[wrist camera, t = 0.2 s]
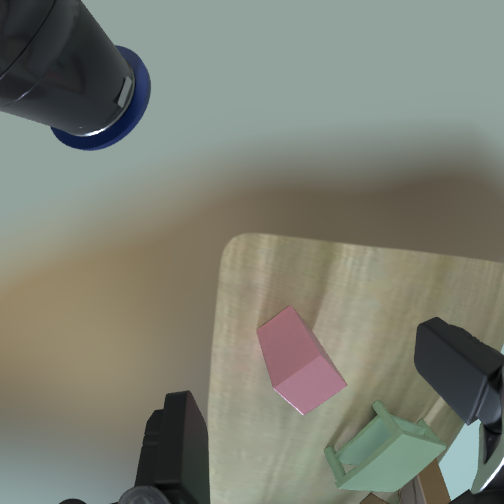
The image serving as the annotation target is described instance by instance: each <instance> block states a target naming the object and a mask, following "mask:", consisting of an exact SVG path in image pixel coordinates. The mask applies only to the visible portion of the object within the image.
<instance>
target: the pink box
mask: <svg viewBox="0 0 504 504" xmlns="http://www.w3.org/2000/svg"><path fill="white" fill-rule="evenodd" d="M257 334H258V338H259V341H260V345H261V348H262V352H263V355H264V359H265V362H266V365H267V369H268V372H269V376H270V379H271V382H272V386H273V389H274V390H276V391H277V392H278V393H279V394H280V395H281V396H282V397H283V398H284V399H285V400H287V401H288V402H289V403H290V404H291V405H292V406H293V407H295V408H296V409H297V410H298V411H299V412H300V413H301V414H303V415H305V414H306V413H308V412H310V411H311V410H313V409H314V408H316V407H317V406H319V405H320V404H322V403H323V402H325V401H326V400H327V399H329V398H330V397H332V396H333V395H335V394H336V393H337V392H339V391H340V390H342V389H343V388H344V387H346V386H347V383H346V382H345V380H344V379H343V377H342V376H341V374H340V373H339V371H338V370H337V368H336V367H335V365H334V363H333V362H332V360H331V359H330V357H329V356H328V354H327V353H326V351H325V350H324V348H323V347H322V345H321V344H320V342H319V341H318V339H317V337H316V336H315V334H314V333H313V332H312V330H311V329H310V328H309V327H308V325H307V324H306V323H305V322H304V320H303V319H302V318H301V317H300V316H299V314H298V313H297V312H296V311H295V309H294V308H293V307H292V306H291V305H289V306H288V307H287V308H285V309H284V310H283V311H281V312H280V313H279V314H277V315H276V316H275V317H274V318H272V319H271V320H270V321H268V322H267V323H266V324H264V325H263V326H262V327H260V328H259V329H257Z"/></svg>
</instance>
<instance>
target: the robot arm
mask: <svg viewBox="0 0 504 504" xmlns="http://www.w3.org/2000/svg"><path fill="white" fill-rule="evenodd" d="M135 85H136V83H135V75H134V72H133V69H132V68H131V66H130V65H129V63H128V62H127V61H126V60H125V59H124V58H123V57H122V55H121V54H120V52H119V51H118V50H117V48H116V47H115V46H114V44H113V43H112V41H111V40H110V39H109V37H108V36H107V35H106V33H105V32H104V31H103V29H102V28H101V27H100V25H99V24H98V23H97V21H96V20H95V19H94V17H93V16H92V15H91V13H90V12H89V11H88V9H87V8H86V7H85V5H84V4H83V3H82V1H81V0H0V111H2V112H6V113H9V114H12V115H16V116H19V117H22V118H26V119H29V120H32V121H35V122H39V123H42V124H45V125H48V126H51V127H54V128H57V129H60V130H63V131H66V132H67V133H69V134H72V135H75V136H79V137H90V136H94V135H98V134H100V133H102V132H104V131H106V130H108V129H109V128H111V127H112V126H113V125H115V124H116V123H117V122H118V121H119V120H120V119H121V118H122V117H123V115H124V114H125V113H126V111H127V110H128V108H129V106H130V104H131V102H132V99H133V96H134V93H135ZM414 363H415V366H416V369H417V371H418V372H419V374H420V375H421V376H422V377H423V378H424V379H425V380H426V381H427V382H428V383H429V384H430V385H431V386H432V387H433V388H434V389H435V391H436V392H437V393H438V394H439V395H440V396H441V397H442V398H443V399H444V400H445V401H446V402H447V403H448V405H449V406H450V407H451V408H452V409H453V410H454V411H455V412H456V413H457V414H458V415H459V417H460V418H461V419H462V420H463V421H464V422H465V423H466V424H467V425H468V426H469V425H470V424H471V423H473V422H474V421H476V420H477V419H479V420H480V421H481V424H480V427H479V458H478V470H477V474H476V477H475V479H474V482H473V485H472V488H471V491H470V490H469V489H468V490H467V491H465V492H464V493H463V494H461V495H460V496H458V497H457V498H455V499H454V500H452V501H451V502H449V503H447V504H504V358H503V357H501V356H500V355H499V354H497V353H496V352H495V351H493V350H492V349H491V348H489V347H488V346H486V345H485V344H484V343H482V342H480V340H478V339H477V338H476V337H472V335H471V334H470V333H469V332H467V331H466V330H464V329H463V328H460V327H457V326H454V325H451V324H450V325H449V324H447V323H446V322H445V321H443V320H442V319H440V318H439V317H434V318H432V319H430V320H428V321H425V322H423V323H421V324H419V325H418V327H417V333H416V345H415V354H414ZM144 434H145V436H144V438H143V447H142V448H141V454H140V459H139V464H138V470H137V475H136V481H135V486H134V487H133V488H131V489H129V490H127V491H126V492H125V493H124V494H123V495H122V496H121V497H120V499H119V501H118V502H116V503H112V504H210V485H209V451H208V431H207V427H206V423H205V421H204V418H203V416H202V414H201V412H200V410H199V408H198V406H197V404H196V402H195V400H194V397H193V396H192V393H191V392H190V391H189V390H188V391H182V392H175V393H168V394H166V397H165V403H164V409H161V410H155V411H154V413H153V414H152V415H151V417H150V418H149V420H148V421H147V424H146V429H145V433H144ZM59 504H86V503H85V502H83V501H81V500H79V499H67V500H64V501H62V502H61V503H59Z"/></svg>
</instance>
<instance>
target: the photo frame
mask: <svg viewBox="0 0 504 504" xmlns="http://www.w3.org/2000/svg"><path fill="white" fill-rule="evenodd" d="M398 495H399V499H400V504H447V503H449V502H451V499H450V496H449V493H448V490H447V487H446V484H445V482H444V479H443V476H442V473H441V470H440V468H439V465H438V462H437V460H436V458H435V459H434V460H433V461H432V462H431V463H430V464H428V465H427V466H426V467H425V468H424V469H423V470H422V471H421V472H419V473H418V474H417V475H416V476H415V477H413V478H412V479H411V480H410V481H409V482H407V483H406V484H405V485H404V486H402V487H401V488H400V489H399V491H398ZM360 504H389V503H387V502H385V501H384V500H382V499H380V498H379V497H377V496H375V495H373V494H372V493H371V494H370V495H368V496H367V497H366V498H365V499H364V500H363V501H362V502H361V503H360Z"/></svg>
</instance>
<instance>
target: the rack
mask: <svg viewBox="0 0 504 504" xmlns="http://www.w3.org/2000/svg"><path fill="white" fill-rule="evenodd" d="M372 407H373V409H374V410H375V412H376V413H377V414H378V415H377V416H376V417H375V418H374V419H373V420H372V421H371V422H370V423H369V424H368V425H366V426H365V427H364V428H363V429H362V430H361V431H360V432H359V433H358V434H357V435H356V436H355V437H354V438H352V439H351V440H350V441H349V442H348V443H347V444H346V445H345V446H343V447H342V448H341V449H340V450H339V451H338V452H336V451H335V449H334V447H331V446H328V447H327V448H326V449H325V450H324V452H325V455H326V457H327V460H328V462H329V464H330V467H331V469H332V471H333V474H334V476H335V479H336V481H337V482H335V484H336V486H337V488H340V489H349V490H360V491H377V492H396V491H397V490H399V489H400V488H401V487H402V486H404V485H405V484H406V483H407V482H409V481H410V480H411V479H412V478H413V477H415V476H416V475H417V474H418V473H419V472H421V471H422V470H423V469H424V468H425V467H426V466H427V465H428V464H430V463H431V462H432V461H433V460H434V459H435V458H436V457H437V456H438V455H439V454H440V453H441V452H442V451H443V450H444V449H445V448H446V447H447V445H446V444H445V443H444V442H441V440H440V439H439V438H438V437H437V436H436V434H435V433H434V432H433V431H432V430H431V428H430V427H429V426H428V425H427V424H426V422H425V421H424V420H422V419H421V420H420V421H419V422H418V423H417V424H415V423H413V422H410V421H407V420H405V419H402V418H400V417H397V416H395V415H392V414H390V413H389V412H388V410H387V409H386V408H385V406H384V405H383V403H382V402H380V401H378V400H377V401H376V402H375V403H374V404H373V405H372ZM424 434H425V435H426V437H424V436H423V435H424ZM341 463H345V464H350V465H356V467H355V468H354V469H352V470H351V471H350V472H348V473H347V474H346V473H345V471H344V469H343V466H342V464H341Z"/></svg>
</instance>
